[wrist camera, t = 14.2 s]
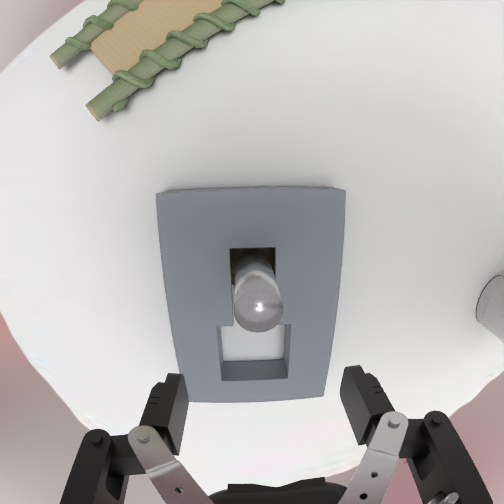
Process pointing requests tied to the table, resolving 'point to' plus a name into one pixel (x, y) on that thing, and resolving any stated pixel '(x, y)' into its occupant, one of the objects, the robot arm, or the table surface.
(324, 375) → the keyhole plate
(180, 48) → the stretcher
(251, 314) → the steel peg
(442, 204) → the table surface
